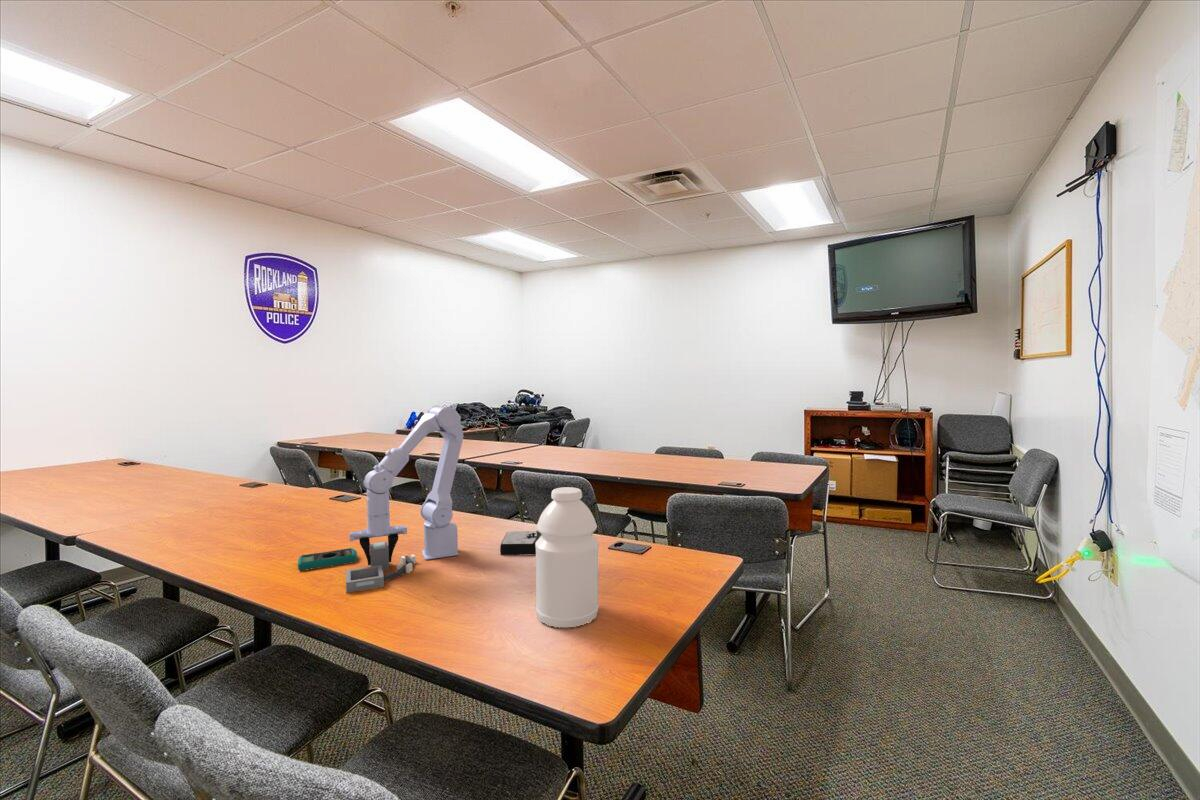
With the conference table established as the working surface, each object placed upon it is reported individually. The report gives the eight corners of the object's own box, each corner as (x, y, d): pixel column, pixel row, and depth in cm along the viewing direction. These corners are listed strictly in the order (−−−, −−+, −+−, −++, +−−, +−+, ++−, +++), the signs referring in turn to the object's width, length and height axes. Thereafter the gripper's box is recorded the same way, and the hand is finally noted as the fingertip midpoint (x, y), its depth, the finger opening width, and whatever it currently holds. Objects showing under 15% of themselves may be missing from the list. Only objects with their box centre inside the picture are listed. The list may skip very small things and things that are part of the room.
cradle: (381, 574, 139) (381, 565, 138) (383, 587, 130) (383, 577, 130) (346, 579, 135) (346, 570, 135) (346, 593, 126) (346, 583, 126)
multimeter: (564, 555, 154) (564, 539, 154) (499, 556, 153) (499, 539, 153) (566, 541, 167) (566, 526, 167) (506, 542, 166) (506, 527, 166)
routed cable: (423, 559, 149) (423, 552, 149) (400, 581, 133) (400, 574, 133) (404, 559, 150) (404, 552, 149) (380, 581, 134) (379, 574, 133)
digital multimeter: (358, 563, 148) (357, 553, 148) (297, 573, 141) (297, 562, 140) (356, 555, 154) (355, 546, 154) (298, 564, 147) (298, 554, 147)
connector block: (387, 562, 147) (387, 540, 147) (389, 569, 142) (388, 546, 141) (370, 565, 145) (369, 542, 145) (371, 572, 140) (370, 549, 139)
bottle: (591, 632, 107) (591, 498, 106) (527, 627, 109) (526, 496, 108) (603, 603, 121) (603, 484, 119) (545, 598, 123) (545, 482, 122)
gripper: (349, 521, 136) (350, 571, 137) (407, 514, 142) (408, 563, 143) (349, 514, 142) (350, 563, 143) (405, 508, 149) (406, 555, 149)
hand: (379, 562), depth 143 cm, fingers closed on connector block, 4 cm apart
